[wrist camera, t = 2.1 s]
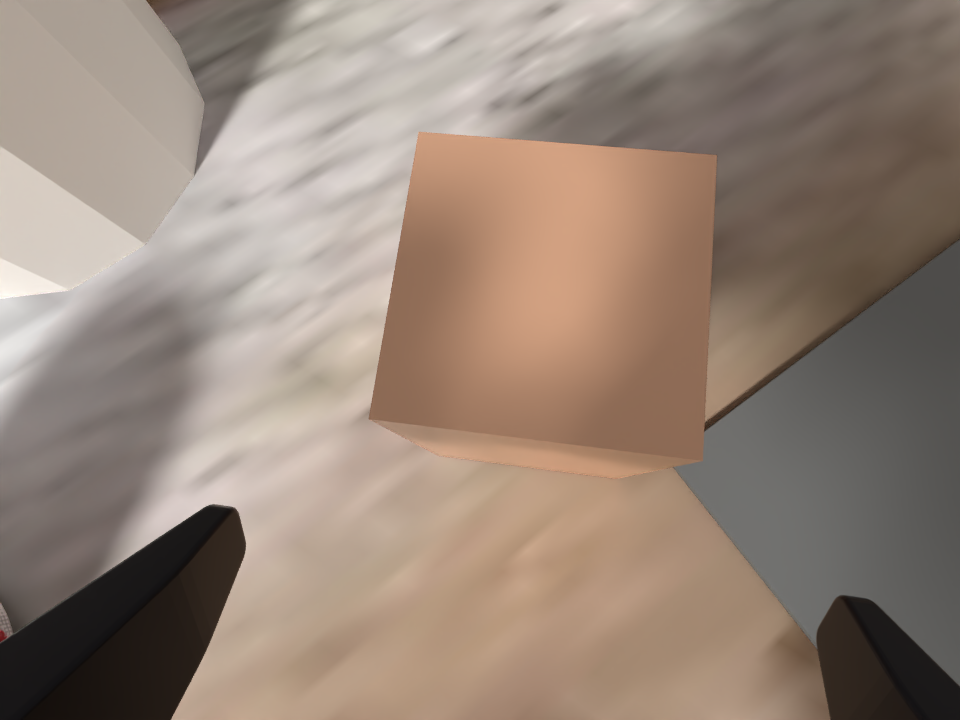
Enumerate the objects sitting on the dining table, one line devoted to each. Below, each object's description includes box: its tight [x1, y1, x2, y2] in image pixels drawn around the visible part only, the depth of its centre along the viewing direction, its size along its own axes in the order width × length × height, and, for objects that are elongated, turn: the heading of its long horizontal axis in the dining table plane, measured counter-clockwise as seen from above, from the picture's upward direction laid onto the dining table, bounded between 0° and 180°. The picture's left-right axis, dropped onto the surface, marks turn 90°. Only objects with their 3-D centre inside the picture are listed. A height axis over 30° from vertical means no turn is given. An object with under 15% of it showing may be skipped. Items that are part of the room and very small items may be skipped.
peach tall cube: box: [369, 132, 717, 479], centre depth 17 cm, size 6×6×10 cm
